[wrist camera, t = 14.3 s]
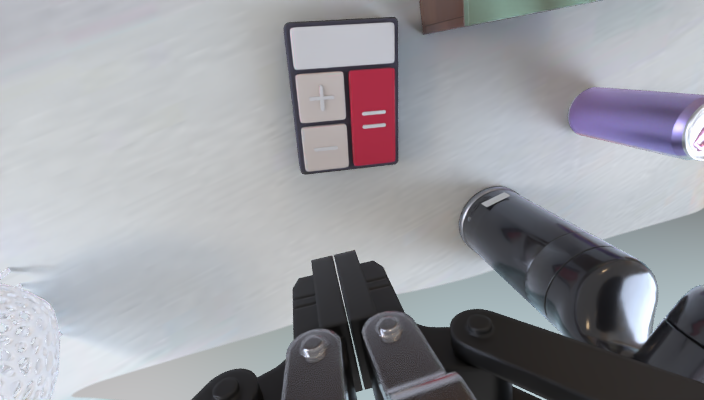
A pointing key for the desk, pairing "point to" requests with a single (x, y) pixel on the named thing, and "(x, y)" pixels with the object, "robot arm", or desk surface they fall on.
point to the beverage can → (642, 120)
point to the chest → (443, 15)
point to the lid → (510, 8)
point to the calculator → (344, 92)
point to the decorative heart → (27, 344)
